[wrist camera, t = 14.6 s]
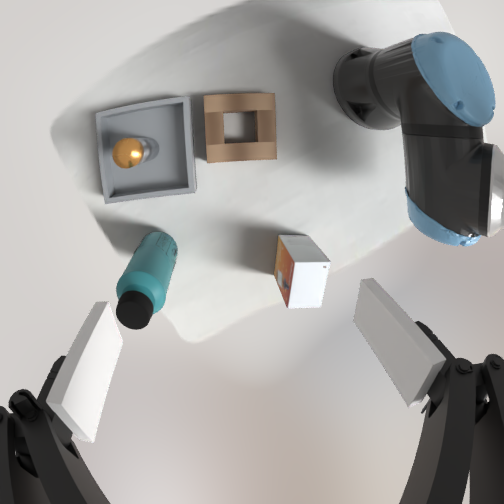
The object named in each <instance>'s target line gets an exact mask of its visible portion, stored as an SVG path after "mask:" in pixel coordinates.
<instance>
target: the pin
mask: <svg viewBox="0 0 504 504" xmlns="http://www.w3.org/2000/svg"><path fill="white" fill-rule="evenodd" d="M158 153H159V144H158V142H157V141H156V140H155V139H153V138H124V139H121V140H120V141H118V142H117V143H116V145H115V146H114V148H113V152H112V157H113V160H114V162H115V164H116V165H117V166H119V167H120V168H124V169H128V168H131V167H134V166H137V165H139V164H142V163H145V162H148V161H151V160H153V159H154V158H156V157H157V155H158Z"/></svg>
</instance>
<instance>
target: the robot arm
mask: <svg viewBox="0 0 504 504" xmlns="http://www.w3.org/2000/svg"><path fill="white" fill-rule="evenodd" d="M333 83H334V90H335V94H336V97H337V99H338V102H339V104H340V105H341V107H342V109H343V110H344V111H345V113H346V114H347V115H348V116H349V117H350V118H351V119H352V120H353V121H355V122H356V123H357V124H359V125H361V126H363V127H365V128H368V129H373V130H389V129H393V128H395V127H397V126H399V125H401V127H402V135H403V145H404V157H405V173H406V187H405V193H406V196H407V205H408V215H409V218H410V220H411V221H412V222H413V224H414V226H415V227H416V228H417V229H418V230H419V231H421V232H422V233H423V234H425V235H426V236H428V237H430V238H432V239H434V240H436V241H439V242H441V243H444V244H448V245H454V246H458V245H459V244H461V245H462V246H470V245H473V244H475V243H476V242H477V241H478V240H479V238H480V237H481V235H483V236H486V237H492V236H493V235H495V234H496V233H497V232H498V231H500V230H502V229H504V154H503V153H502V152H501V150H500V149H499V148H498V146H497V145H494V144H488V143H484V142H483V129H482V126H484V125H486V124H488V123H489V122H490V121H491V120H492V118H493V115H494V112H493V110H494V109H495V94H494V89H493V85H492V82H491V79H490V76H489V74H488V72H487V70H486V68H485V66H484V64H483V63H482V61H481V60H480V58H479V57H478V56H477V55H476V53H475V52H474V51H473V49H472V48H471V47H470V46H469V45H468V44H467V43H465V42H464V41H463V40H461V39H460V38H458V37H457V36H455V35H452V34H450V33H446V32H435V33H430V34H419V35H417V36H415V37H414V38H411V39H408V40H406V41H403V42H400V43H398V44H395V45H392V46H390V47H387V48H385V49H379V48H368V47H367V48H359V49H356V50H353V51H351V52H349V53H347V54H346V55H344V56H343V57H342V58H341V59H340V60H339V62H338V64H337V65H336V68H335V71H334V77H333ZM353 321H354V323H355V324H356V326H357V327H358V329H359V330H360V332H361V333H362V335H363V336H364V338H365V339H366V341H367V342H368V344H369V345H370V347H371V349H372V350H373V352H374V353H375V355H376V356H377V358H378V359H379V361H380V362H381V364H382V365H383V367H384V369H385V370H386V372H387V373H388V375H389V377H390V378H391V380H392V381H393V383H394V385H395V386H396V388H397V389H398V391H399V393H400V394H401V396H402V397H403V399H404V401H405V402H406V404H407V406H408V407H411V406H413V405H415V404H418V403H420V402H421V401H422V400H423V399H424V397H425V396H426V394H428V396H429V397H430V399H429V401H428V402H427V404H426V405H425V406H424V408H423V409H422V412H421V413H423V412H424V411H425V410H426V414H425V419H424V424H423V429H422V433H421V437H420V441H419V445H418V449H417V453H416V456H415V460H414V463H413V466H412V470H411V473H410V476H409V479H408V482H407V485H406V487H405V490H404V493H403V496H402V498H401V501H400V503H399V504H462V501H463V497H464V493H465V489H466V484H467V479H468V474H469V471H470V504H504V360H503V359H502V358H501V357H500V356H498V355H496V354H490V355H488V356H487V357H486V359H485V360H484V362H483V363H479V364H472V363H471V362H470V361H468V360H466V359H464V358H457V359H456V358H455V357H454V356H453V355H452V354H451V352H450V351H449V350H448V349H447V348H446V347H445V346H444V345H443V343H442V342H441V341H440V340H438V338H437V337H436V335H435V334H433V332H432V331H431V330H430V329H429V328H428V327H427V326H426V325H424V324H423V323H421V322H419V321H417V322H414V321H413V320H412V319H411V318H410V317H409V316H408V314H407V313H406V312H405V311H404V310H403V309H402V308H401V307H400V306H399V305H398V304H397V303H396V302H395V301H394V299H393V298H392V297H391V296H390V295H389V294H388V293H387V292H386V291H385V290H384V289H383V288H382V287H381V286H380V285H379V284H378V283H377V282H376V281H375V280H374V279H373V278H370V279H363V280H361V283H360V289H359V294H358V300H357V305H356V310H355V315H354V319H353ZM122 344H123V340H122V338H121V335H120V333H119V330H118V327H117V325H116V322H115V319H114V316H113V313H112V310H111V307H110V305H109V302H96V303H95V305H94V306H93V308H92V310H91V312H90V313H89V315H88V317H87V319H86V320H85V322H84V324H83V326H82V327H81V329H80V331H79V333H78V335H77V337H76V339H75V340H74V342H73V344H72V346H71V348H70V350H69V352H68V354H67V356H61V357H60V358H59V359H58V360H57V361H56V362H55V363H54V364H53V367H52V369H51V370H50V373H49V374H48V376H47V379H46V381H45V383H44V385H43V387H42V389H41V391H40V394H39V396H38V398H37V400H36V398H35V397H34V396H33V395H32V393H31V392H30V391H28V390H24V389H21V390H18V391H17V392H15V393H14V394H13V395H12V396H11V397H10V400H9V408H10V409H11V410H12V412H13V413H9V412H8V411H7V410H6V409H5V408H4V407H2V406H0V504H110V502H109V501H108V500H107V498H106V497H105V495H104V494H103V492H102V491H101V489H100V488H99V486H98V484H97V483H96V481H95V480H94V478H93V477H92V475H91V473H90V471H89V470H88V468H87V466H86V464H85V463H84V461H83V459H82V457H81V455H80V453H79V451H78V449H77V448H76V446H75V444H74V442H73V441H72V440H71V437H72V434H74V435H75V436H76V437H77V438H78V439H79V440H83V441H87V442H92V443H94V440H95V436H96V432H97V428H98V424H99V420H100V416H101V413H102V409H103V405H104V402H105V398H106V395H107V391H108V388H109V385H110V381H111V378H112V375H113V372H114V368H115V365H116V362H117V359H118V356H119V353H120V350H121V347H122ZM487 396H488V397H489V402H487V400H486V398H487ZM15 451H16V456H15Z"/></svg>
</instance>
